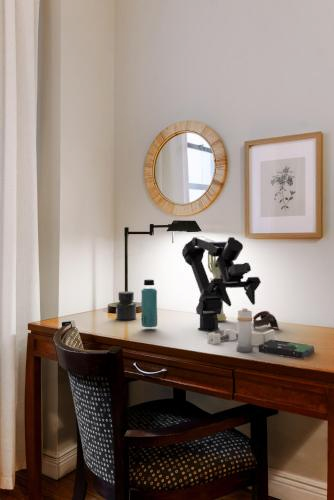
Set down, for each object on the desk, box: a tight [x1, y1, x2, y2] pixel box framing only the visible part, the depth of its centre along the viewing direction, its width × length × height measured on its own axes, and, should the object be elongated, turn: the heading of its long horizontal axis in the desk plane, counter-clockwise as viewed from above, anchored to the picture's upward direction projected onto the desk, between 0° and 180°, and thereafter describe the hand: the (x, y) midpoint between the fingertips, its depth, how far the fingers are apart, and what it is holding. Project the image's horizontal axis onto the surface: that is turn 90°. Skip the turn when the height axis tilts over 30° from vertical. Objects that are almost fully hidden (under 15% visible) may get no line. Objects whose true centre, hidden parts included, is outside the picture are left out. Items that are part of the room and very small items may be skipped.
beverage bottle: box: [140, 279, 158, 328], centre depth 175 cm, size 6×7×20 cm
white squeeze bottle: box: [236, 308, 254, 354], centre depth 142 cm, size 5×5×14 cm
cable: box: [212, 332, 238, 342], centre depth 158 cm, size 5×20×1 cm, turn 112°
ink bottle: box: [115, 291, 137, 321], centre depth 198 cm, size 10×9×12 cm
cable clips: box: [207, 328, 237, 345], centre depth 158 cm, size 4×21×3 cm, turn 125°
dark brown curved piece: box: [252, 310, 280, 331], centre depth 177 cm, size 12×10×8 cm
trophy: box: [207, 253, 227, 322], centre depth 193 cm, size 8×8×30 cm
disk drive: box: [258, 339, 315, 360], centre depth 140 cm, size 10×3×15 cm
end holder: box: [252, 326, 275, 347], centre depth 153 cm, size 9×9×4 cm
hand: (242, 304), depth 150 cm, fingers open, 9 cm apart
